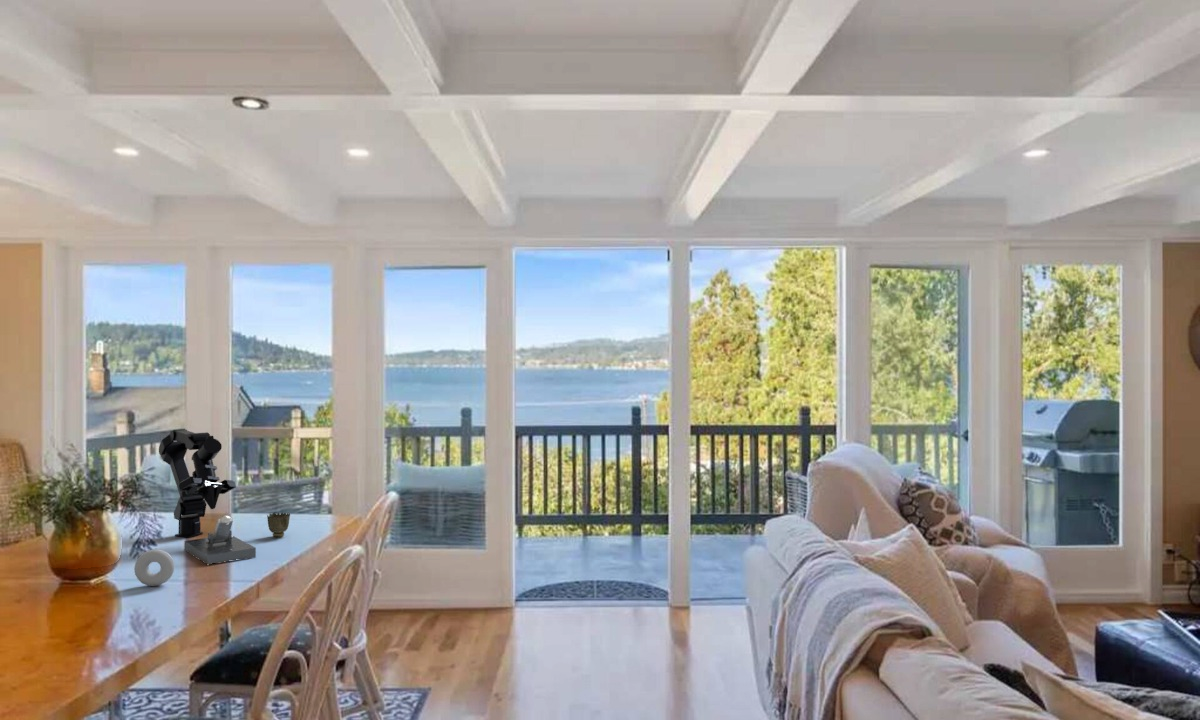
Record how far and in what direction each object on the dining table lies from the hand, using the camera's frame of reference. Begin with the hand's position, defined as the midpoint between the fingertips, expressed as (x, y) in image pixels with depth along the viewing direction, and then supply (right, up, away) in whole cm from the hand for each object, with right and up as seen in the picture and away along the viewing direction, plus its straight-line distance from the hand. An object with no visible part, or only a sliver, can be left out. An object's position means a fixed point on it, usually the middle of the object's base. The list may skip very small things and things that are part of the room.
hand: (213, 508), depth 250 cm
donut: (+7, -13, -45) cm, 47 cm away
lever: (+7, -8, -10) cm, 15 cm away
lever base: (+7, -12, -10) cm, 18 cm away
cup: (+16, -13, +13) cm, 24 cm away
